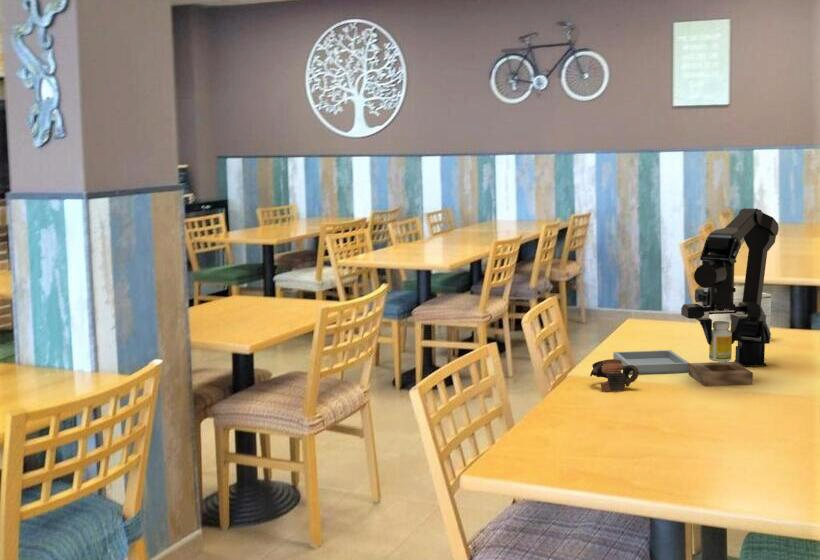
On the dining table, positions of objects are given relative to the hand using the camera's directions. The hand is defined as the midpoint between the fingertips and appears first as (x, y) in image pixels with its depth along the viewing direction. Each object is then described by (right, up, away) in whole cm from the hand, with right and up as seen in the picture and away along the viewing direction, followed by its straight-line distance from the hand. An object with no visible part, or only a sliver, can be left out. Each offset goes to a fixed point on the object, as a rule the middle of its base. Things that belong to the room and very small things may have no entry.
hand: (720, 343), depth 246 cm
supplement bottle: (0, -4, +1) cm, 4 cm away
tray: (-14, -7, +17) cm, 23 cm away
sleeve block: (0, -9, +1) cm, 9 cm away
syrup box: (+25, -2, +45) cm, 52 cm away
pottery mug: (-28, -11, -4) cm, 30 cm away
